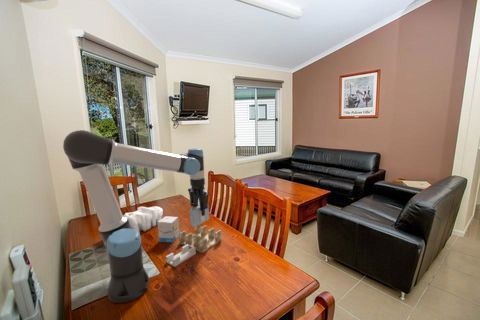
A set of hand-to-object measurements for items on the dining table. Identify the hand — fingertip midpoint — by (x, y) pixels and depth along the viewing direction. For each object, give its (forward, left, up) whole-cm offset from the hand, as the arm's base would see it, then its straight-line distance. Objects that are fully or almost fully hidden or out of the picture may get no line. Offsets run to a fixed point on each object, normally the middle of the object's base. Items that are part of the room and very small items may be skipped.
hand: (200, 220), depth 124 cm
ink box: (-7, +18, -13) cm, 23 cm away
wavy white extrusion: (-9, +46, -13) cm, 49 cm away
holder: (-16, -3, -13) cm, 21 cm away
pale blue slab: (0, 0, -1) cm, 1 cm away
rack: (0, 0, -13) cm, 13 cm away
